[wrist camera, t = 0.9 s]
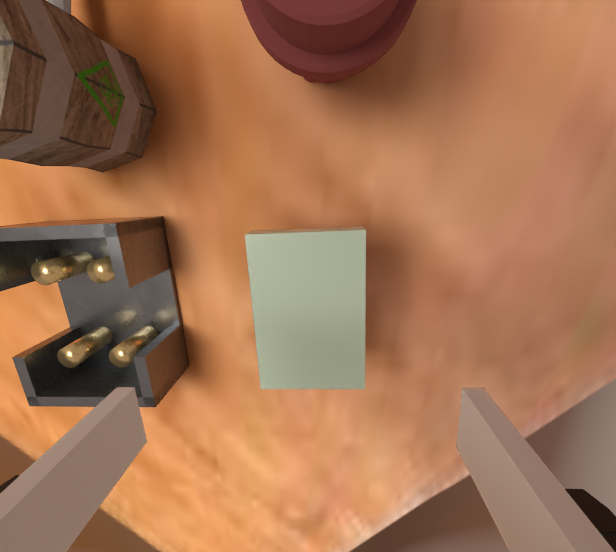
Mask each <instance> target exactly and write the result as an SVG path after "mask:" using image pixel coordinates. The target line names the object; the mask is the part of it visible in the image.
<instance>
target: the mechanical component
mask: <svg viewBox="0 0 616 552" xmlns="http://www.w3.org/2000/svg"><path fill="white" fill-rule="evenodd" d="M416 1H417V0H241V2H242V5H243V8H244V11H245V13H246V15H247V17H248V20H249V22H250V24H251V26H252V28H253V30H254V32H255V34H256V36H257V38H258V40H259V41H260V43H261V44H262V46H263V47H264V48H265V50H266V51H267V52H268V53H269V54H270V55H271V56H272V57H273V59H274V60H276V61H277V62H278V63H279V64H281V65H282V66H283V67H284V68H286V69H288V70H290V71H291V72H293V73H295V74H297V75H300V76H303V77H304V79H306V80H307V81H309V82H315V81H318V82H325V83H329V82H336V81H340V80H343V79H345V78H347V77H349V76H352V75H354V74H357V73H359V72H361V71H363V70H365V69H366V68H368V67H369V66H371V65H372V64H374V63H375V62H376V61H377V60H379V59H380V58H381V57H382V56H383V55H384V54H385V53H386V52H387V51H388V50H389V49H390V47H391V46H392V45H393V44H394V43H395V41H396V40H397V38H398V37H399V35H400V34H401V32H402V31H403V29H404V27H405V25H406V23H407V21H408V19H409V17H410V14H411V12H412V10H413V8H414V5H415V3H416Z"/></svg>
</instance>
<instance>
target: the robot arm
mask: <svg viewBox="0 0 616 552" xmlns="http://www.w3.org/2000/svg"><path fill="white" fill-rule="evenodd" d="M146 442H147V439H146V435H145V430H144V426H143V422H142V417H141V413H140V409H139V405H138V400H137V396H136V392H135V387H117V388H116V389H115V390H114V391H112V392H111V393H110V394H109V395H108V396H107V397H106V398H105V399H104V400H103V401H101V402H100V403H99V404H98V405H97V406H96V407H95V408H94V409H93V410H92V411H90V412H89V413H88V414H87V415H86V416H85V417H84V418H83V419H82V420H81V421H79V422H78V423H77V424H76V425H75V426H74V427H73V428H72V429H71V430H70V431H68V432H67V433H66V434H65V435H64V436H63V437H62V438H61V439H60V440H59V441H57V442H56V443H55V444H54V445H53V446H52V447H51V448H50V449H49V450H48V451H46V452H45V453H44V454H43V455H42V456H41V457H40V458H39V459H38V460H37V461H35V462H34V463H33V464H32V465H31V466H30V467H29V468H28V469H27V470H26V471H25V472H23V473H22V474H21V475H16V476H14V477H13V478H11V479H10V480H8V481H7V482H5V483H4V484H2V485H1V486H0V552H66V551H67V550H68V549H69V547H70V546H71V544H72V543H73V542H74V540H75V539H76V537H77V536H78V535H79V533H80V532H81V531H82V529H83V528H84V527H85V525H86V524H87V523H88V521H89V520H90V519H91V517H92V516H93V514H94V513H95V512H96V510H97V509H98V508H99V506H100V505H101V504H102V502H103V501H104V500H105V498H106V497H107V495H108V494H109V493H110V491H111V490H112V489H113V487H114V486H115V485H116V483H117V482H118V481H119V479H120V478H121V476H122V475H123V474H124V472H125V471H126V470H127V468H128V467H129V466H130V464H131V463H132V461H133V460H134V459H135V457H136V456H137V455H138V453H139V452H140V451H141V449H142V448H143V446H144V445H145V444H146ZM456 447H457V449H458V451H459V453H460V455H461V457H462V459H463V461H464V463H465V465H466V467H467V469H468V471H469V473H470V475H471V477H472V479H473V481H474V483H475V485H476V487H477V489H478V490H479V492H480V494H481V496H482V498H483V500H484V502H485V504H486V506H487V508H488V510H489V512H490V514H491V516H492V518H493V520H494V522H495V524H496V526H497V528H498V530H499V532H500V534H501V535H502V537H503V540H504V542H505V543H506V546H507V548H508V550H509V551H510V552H616V516H615V515H614V514H613V513H612V512H611V511H610V510H609V509H608V508H607V507H606V506H604V505H603V504H602V503H600V502H599V501H598V500H597V499H595V498H594V497H593V496H591V495H590V494H589V493H587V492H586V491H585V490H583V489H564V488H563V486H562V485H561V484H560V483H559V481H558V480H557V479H556V478H555V476H554V475H553V474H552V473H551V472H550V470H549V469H548V468H547V467H546V465H545V464H544V463H543V462H542V460H541V459H540V458H539V457H538V455H537V454H536V453H535V452H534V450H533V449H532V448H531V447H530V445H529V444H528V443H527V442H526V440H525V439H524V438H523V437H522V435H521V434H520V433H519V432H518V430H517V429H516V428H515V427H514V425H513V424H512V423H511V422H510V420H509V419H508V418H507V417H506V415H505V414H504V413H503V412H502V410H501V409H500V408H499V407H498V405H497V404H496V403H495V402H494V401H493V399H492V398H491V397H490V396H489V394H488V393H487V392H486V391H485V389H484V388H462V397H461V407H460V416H459V426H458V435H457V445H456Z"/></svg>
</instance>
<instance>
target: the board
mask: <svg viewBox="0 0 616 552" xmlns="http://www.w3.org/2000/svg"><path fill="white" fill-rule="evenodd" d="M245 242H246V252H247V261H248V271H249V280H250V290H251V299H252V309H253V318H254V328H255V338H256V347H257V357H258V366H259V376H260V385H261V389H365V317H366V229H365V228H364V227H363V226H361V227H336V228H311V229H285V230H260V231H251V232H249V233H247V234H245Z"/></svg>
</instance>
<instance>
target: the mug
mask: <svg viewBox="0 0 616 552" xmlns="http://www.w3.org/2000/svg"><path fill="white" fill-rule="evenodd" d="M155 114H156V109H155V106H154V104H153V101H152V99H151V97H150V94H149V92H148V89H147V87H146V84H145V82H144V79H143V77H142V74H141V72H140V69H139V67H138V65H137V62H136V60H135V58H133V57H131V56H129V55H128V54H126V53H124V52H122V51H120V50H118V49H116V48H115V47H113V46H111V45H109V44H108V43H106V42H105V41H103V40H102V39H100V38H99V37H98V36H97V35H95V34H94V33H93V32H92V31H91V30H90V29H88V28H87V27H86V26H85V25H84V24H83V23H81V22H80V21H79V20H78V19H77V18H76V17H74V16H72V15H71V0H47V1H46V0H0V159H9V160H14V161H19V162H25V163H30V164H35V165H40V166H73V167H83V168H89V169H92V170H96V171H100V172H105V171H108V170H110V169H113V168H115V167H118V166H121V165H123V164H126V163H128V162H131V161H133V160H136V159H139V158H141V157H142V156H143V152H144V149H145V146H146V143H147V140H148V137H149V133H150V130H151V127H152V124H153V121H154V118H155Z"/></svg>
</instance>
